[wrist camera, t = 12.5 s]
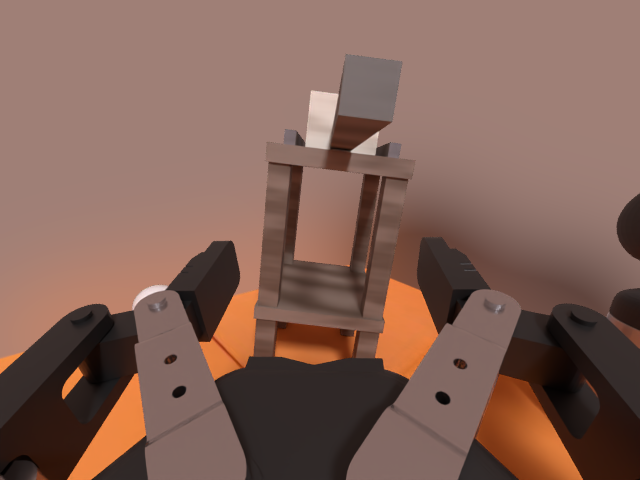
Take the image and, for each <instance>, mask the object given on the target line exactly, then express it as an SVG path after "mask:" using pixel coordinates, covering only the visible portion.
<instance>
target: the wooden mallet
mask: <svg viewBox="0 0 640 480" xmlns="http://www.w3.org/2000/svg"><path fill="white" fill-rule="evenodd" d="M401 66H402V61H394V60H386V59H379V58H371V57H363V56H355V55H348V54H346V57H345V62H344V68H343V73H342V78H341V84H340V90H339V94H333V93H326V92H318V91H311V97H310V107H309V116H308V125H307V136H306V144H305V147H311V148H319V149H327V150H335V151H343V152H351V153H359V154H367V155H375V153H376V147H377V141H378V134H379V131H380V130H381V129H383V128H384V127H386V126H387V125H388V124H390V123H391V122H392V120H393V114H394V108H395V102H396V96H397V90H398V84H399V78H400V73H401Z"/></svg>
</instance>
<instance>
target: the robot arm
mask: <svg viewBox="0 0 640 480" xmlns="http://www.w3.org/2000/svg"><path fill="white" fill-rule="evenodd" d="M617 235H618V238H619V241H620V243H621V245H622V246H623V248H624V249H625V250H626V251H627V252H628V253H629V254H631V255H632V256H633V257H634V258H636V259H638V260H640V194H638V195H637V196H636V197H634V198H633V199H632V200H631V201H630V202H629V203H628V204H627V205H626V206H625V207H624V209H623V210H622V212H621V214H620V216H619V218H618V222H617ZM417 279H418V284H419V286H420V289H421V291H422V294H423V296H424V299H425V301H426V304H427V306H428V309H429V312H430V314H431V317H432V319H433V322H434V324H435V327H436V329H437V332H438V334H439V335H438V337H437V338H436V340H435V341H434V343H433V345H432V346H431V348H430V349H429V351H428V352H427V354H426V355H425V357H424V358H423V360H422V361H421V363H420V365H419V366H418V368H417V369H416V371H415V372H414V374H413V375H412V377H411V378H410V380H409V379H407V378H405V377H403V376H401V375H399V374H397V373H394V372H391V371H388V370H384V366H383V360H382V358H346V359H341V360H336V361H332V362H327V363H322V364H317V365H312V364H308V363H303V362H299V361H295V360H291V359H287V358H283V357H249V359H248V362H247V365H246V367H245V368H241V369H238V370H235V371H232V372H230V373H227V374H225V375H224V376H222V377H220V378H218V379H217V380H215V381H214V379H213V377H212V374H211V372H210V369H209V367H208V364H207V362H206V359H205V357H204V354H203V352H202V349H201V347H200V344H199V342H210V341H211V339H212V337H213V335H214V333H215V331H216V329H217V327H218V325H219V323H220V321H221V319H222V317H223V315H224V313H225V311H226V309H227V307H228V305H229V303H230V301H231V299H232V297H233V295H234V293H235V291H236V289H237V287H238V284H239V281H240V271H239V266H238V261H237V257H236V252H235V247H234V244H233V242H232V241H213V242H212V243H211V245H210V246H209V247H208V248H207V250H206V251H205V252H202V253H200V254H198V255H197V256H195V257H194V258H192V259H191V260H190V261H189V263H188V264H187V265H186V267H184V268H183V270H182V271H181V273H179V274H178V275H177V277H176V278H175V279H174V280H173V281H172V283H171V284H170V285H169V286H168V287H167V288H166V290H164V291H158V292H155V293H152V294H150V295H148V296H146V297H144V298H143V299H141V300H140V301H139V302H138V303H137V304H136V306H135V308H134V310H132V311H128V312H123V313H118V314H113V315H111V314H110V312H109V310H108V308H107V307H106V306H105V305H102V304H92V305H88V306H84V307H81V308H79V309H76V310H74V311H73V312H71V313H69V314H68V315H66V316H65V317H63V318H62V319H61V320H60V321H59V322H57V323H56V324H55V325H54V326H53V327H52V328H51V329H50V330H49V331H48V332H46V333H45V334H44V335H43V336H42V337H41V338H40V339H39V340H38V341H37V342H35V343H34V344H33V345H32V346H31V347H30V348H29V349H28V350H26V351H25V352H24V353H23V354H22V355H21V356H20V357H19V358H18V359H17V360H15V361H14V362H13V363H12V364H11V365H10V366H9V367H8V368H7V369H5V370H4V371H3V372H2V373H1V374H0V480H67V479H68V477H69V476H70V474H71V473H72V471H73V469H74V468H75V466H76V465H77V463H78V462H79V460H80V458H81V457H82V455H83V454H84V452H85V451H86V449H87V448H88V446H89V444H90V443H91V441H92V440H93V438H94V437H95V435H96V433H97V432H98V430H99V429H100V427H101V426H102V424H103V423H104V421H105V419H106V418H107V416H108V415H109V413H110V412H111V410H112V408H113V407H114V405H115V404H116V402H117V401H118V399H119V398H120V396H121V394H122V393H123V391H124V390H125V388H126V387H127V385H128V383H129V382H130V380H131V379H132V377H133V376H134V374H135V373H138V376H139V384H140V391H141V398H142V406H143V413H144V421H145V428H146V436H145V437H144V438H142V439H141V440H140V441H139V442H137V443H136V444H135V445H134V446H133V447H131V448H130V449H129V450H128V451H126V452H125V453H124V454H123V455H121V456H120V457H119V458H118V459H116V460H115V461H114V462H113V463H111V464H110V465H109V466H108V467H107V468H105V469H104V470H103V471H102V472H100V473H99V474H98V475H97V476H95V477H94V478H93V479H92V480H519V479H518V478H516V477H515V476H514V475H513V474H512V473H511V472H510V471H509V470H508V469H507V468H506V467H505V466H504V465H503V464H502V463H501V462H499V461H498V460H497V459H496V458H495V457H494V456H493V455H492V454H491V453H490V452H489V451H488V450H487V449H486V448H485V447H483V446H482V445H481V444H480V443H479V442H478V441H477V440H476V437H477V434H478V431H479V428H480V426H481V423H482V420H483V417H484V415H485V412H486V409H487V406H488V404H489V401H490V398H491V395H492V393H493V390H494V387H495V385H496V382H497V379H498V376H499V374H502V375H506V376H509V377H513V378H517V379H520V380H524V381H528V382H529V384H530V386H531V388H532V389H533V391H534V393H535V395H536V396H537V398H538V400H539V402H540V404H541V405H542V407H543V409H544V411H545V412H546V414H547V416H548V418H549V420H550V421H551V423H552V425H553V427H554V428H555V430H556V432H557V434H558V435H559V437H560V439H561V441H562V443H563V444H564V446H565V448H566V450H567V451H568V453H569V455H570V457H571V459H572V460H573V462H574V464H575V466H576V467H577V469H578V471H579V473H580V475H581V476H582V478H583V480H640V288H637V289H628V290H623V291H621V292H619V293H617V295H616V296H615V297H614V300H613V302H612V304H611V307H610V310H609V312H608V315H607V317H604V316H603V315H601V314H600V313H598V312H596V311H594V310H592V309H589V308H586V307H583V306H579V305H575V304H559V305H556V306H555V307H554V308H553V310H552V312H551V315H550V316H549V315H544V314H539V313H534V312H529V311H524V310H521V307H520V305H519V304H518V302H517V301H515V300H514V299H513V298H512V297H510V296H508V295H506V294H504V293H502V292H499V291H494V290H491V289H490V288H489V286H488V285H487V283H486V282H485V281H484V279H483V278H482V277H481V275H480V274H479V273H478V271H476V269H475V267H474V266H473V265H472V264H471V262H470V261H469V259H468V258H467V256H466V255H465V254H463V253H461V252H460V251H458V250H457V249H450V248H449V247H448V246H447V244H446V242H445V241H444V240H443V238H442V237H426V238H425V237H424V238H422V240H421V244H420V252H419V260H418V268H417ZM77 367H79V369H80V371H81V372H82V374H83V377H82V378H81V379H80V380H79V381H78V383H77V384H76V385H75V386H74V388H73V389H72V390H71V391H70V392H69V394H68V395H67V396H66V397H65V399H64V400H63V398H62V389H63V386H64V384H65V382H66V380H67V379H68V378H69V377H70V376H71V374H72V373H73V372H74V371H75V370H76V369H77Z"/></svg>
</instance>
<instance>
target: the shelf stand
mask: <svg viewBox="0 0 640 480" xmlns="http://www.w3.org/2000/svg"><path fill="white" fill-rule="evenodd" d="M305 144H306V143H305V142H304V140H303V139H302V138H301V136H300V135H299V134H298V132H297V131H295V130H287V129H285V135H284V144H279V143H272V142H267V147H266V161H268V162H269V165H268V178H267V190H266V203H265V216H264V229H263V242H262V255H261V268H260V281H259V294H258V301H257V303H256V305H255V308H254V318H256V319H257V320H256V333H255V346H254V357H274V356H275V346H276V335H277V328H286V324H287V322H290V323H298V324H307V325H315V326H324V327H332V328H340V330H341V335H345V336H354V331H355V330H357V332H356V338H355V344H354V350H353V356H352V358H375V354H376V349H377V343H378V338H379V333H383V328H384V323H385V321H384V319H383V311H384V306H385V301H386V295H387V290H388V285H389V279H390V274H391V269H392V263H393V258H394V252H395V247H396V242H397V237H398V231H399V226H400V221H401V215H402V210H403V205H404V199H405V194H406V189H407V183H408V179H412V176H413V170H414V165H415V160H407V159H399V155H400V149H401V144H398V143H391V142H390V143H388V144H385V145H383V146H381V147H378V148H376V153H375V155H367V154H359V153H351V152H343V151H335V150H327V149H319V148H311V147H305ZM303 166H305V167H314V168H322V169H330V170H338V171H346V172H355V173H362V174H364V177H363V183H362V189H361V196H360V203H359V209H358V216H357V222H356V229H355V236H354V243H353V248H352V256H351V262H350V267H348V266H340V265H331V264H322V263H315V262H305V261H298V260H293V259H294V249H295V240H296V230H297V220H298V210H299V202H300V191H301V183H302V173H303ZM380 176H382V182H381V188H380V194H379V200H378V206H377V212H376V218H375V224H374V230H373V236H372V242H371V248H370V254H369V261H368V266H367V272H366V273H365V263H366V257H367V252H368V245H369V240H370V234H371V227H372V221H373V215H374V209H375V203H376V197H377V191H378V185H379V179H380Z"/></svg>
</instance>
